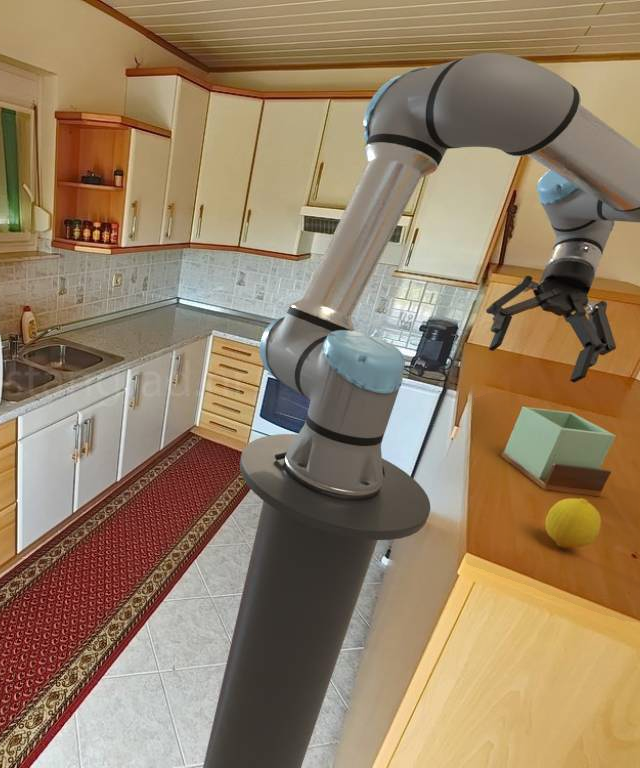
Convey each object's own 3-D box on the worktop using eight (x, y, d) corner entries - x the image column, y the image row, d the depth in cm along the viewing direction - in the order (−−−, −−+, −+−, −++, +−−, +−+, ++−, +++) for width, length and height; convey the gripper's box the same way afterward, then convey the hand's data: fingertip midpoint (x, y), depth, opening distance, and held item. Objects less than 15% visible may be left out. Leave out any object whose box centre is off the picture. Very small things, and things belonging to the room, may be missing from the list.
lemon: (533, 543, 70) (555, 496, 67) (540, 529, 73) (561, 483, 71) (583, 565, 66) (609, 516, 63) (587, 549, 70) (612, 502, 67)
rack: (598, 496, 85) (611, 471, 83) (544, 489, 85) (555, 464, 83) (549, 462, 96) (559, 439, 94) (501, 456, 96) (510, 433, 95)
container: (591, 485, 86) (616, 435, 83) (539, 478, 87) (561, 429, 83) (550, 457, 96) (571, 412, 92) (503, 451, 96) (522, 406, 93)
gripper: (510, 236, 93) (472, 325, 88) (663, 285, 86) (631, 385, 81) (488, 260, 100) (452, 343, 95) (628, 307, 93) (597, 400, 88)
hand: (535, 363), depth 88 cm, fingers open, 13 cm apart
